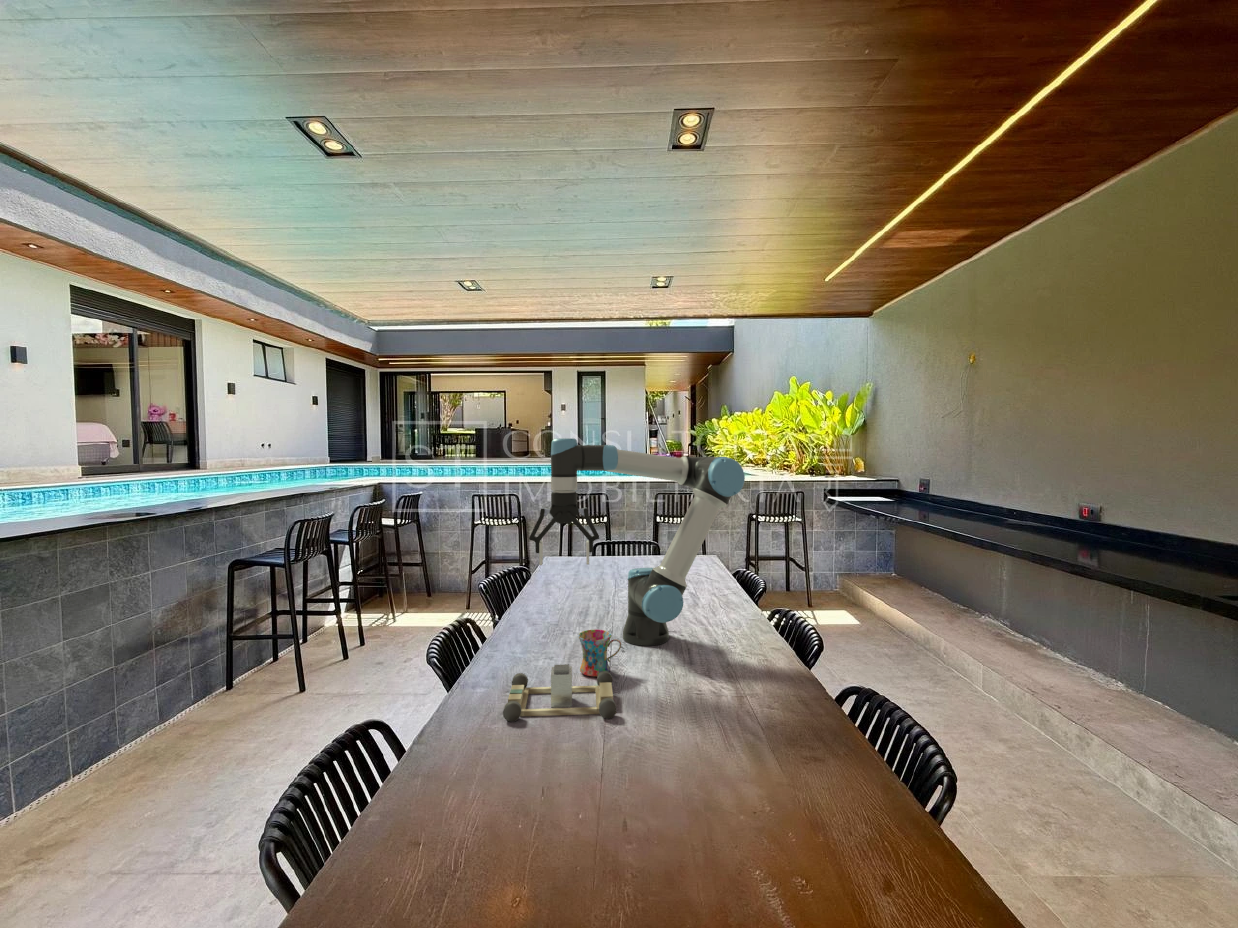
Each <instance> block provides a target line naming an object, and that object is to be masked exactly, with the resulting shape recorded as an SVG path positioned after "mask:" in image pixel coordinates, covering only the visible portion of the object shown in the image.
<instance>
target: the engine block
mask: <svg viewBox="0 0 1238 928" xmlns="http://www.w3.org/2000/svg"><path fill="white" fill-rule="evenodd" d="M572 680H573V666H570V664H568V663H567V664H554V665H553V666H551V671H550V687H551V693H550V708H573V693H572V686H573V681H572Z"/></svg>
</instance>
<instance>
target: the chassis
mask: <svg viewBox="0 0 1238 928" xmlns="http://www.w3.org/2000/svg"><path fill="white" fill-rule="evenodd" d="M596 677H597V678H596V681H597V682H596V683H597V685H580V686H579V685H576V686H575V685H572V694H573V693H574V694H575V693H595V706H591V707H590V706H589V707H587V706H585V707H558V708H551V707H550V708H526V707H527V704H528V699H529V695H530V694H532V695H533V694H534V695H536V694H537V695H538V694H551V686H536V687H535V686H534V687H532V686H531V687H528V683H529V679H528V676H527V675H526V674H525V673H521V672H517V673H516V674H514V676H513V677H512V680H511V688H510V691H509V695H508V698H507V702H506V703H505V705H504V708H503V711H502V717H503V718H504V720H505V721H507V722H510V723H515V722H516V721H518V719H520V717H542V716H543V717H544V716H574V715H575V716H576V715H577V716H578V715H600V717H602V718H603V719H605V720H606V719H607V720H608V719H612V718H614V717H615V715H616V713H617V705H616V702H615V700H614V694H613V683H614V682H613V675H612V674H611V672H610V671H609V672H608V671H602V672H600V673H599V674H598V676H596Z"/></svg>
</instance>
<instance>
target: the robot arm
mask: <svg viewBox="0 0 1238 928" xmlns="http://www.w3.org/2000/svg"><path fill="white" fill-rule="evenodd" d="M550 446H551V448H550V449H551V450H550V471H551V472H550V486H551V487H550V489H551V491H552V492H551V493H550V496H551V497H550V498H551V499H550V502H551V503H550V506H551V507H550V508H546V507H541V508H540V510H539V517H538V519H537V521H536V523H535V525H534V527H533V529H532V531H531V533H530V535H529V537H528V539H529V541H532V542H534V543H535V545H534V546H535V554H538V555H539V561H538V563H539V564H538V565H539V566H543V560H544V559H543V557H544V556H543V555H544V554H543V549H544V546H543V544H544V543H543V540H542V539H543V537H544V536H545V535H546V534H547V533H548V532H549V531H550V530H551V528H552V527H553V526H554V525H555V524H556V523H557V524H558V525H561V524H567V525H568V524H571V523H573V525H575V526H576V528H578V530H579V531H580V532H581V533H582V535H584V537H585V538H586V539H587V540H586V550H585V551H586V565H590V553H593V552H594V541H596V540H599V539H600V535H599V533H598V531H597V528H596V527H595V525H594V522H593V521H592V520H591V517H590V515H589V509H588V507H584V508H583V507H582V508H578V492H577V490H578V471H579V472H580V471H581V472H582V471H585V472H586V471H588V472H589V471H600V472H610V473H615V474H621V475H622V474H623V475H631V476H638V477H644V478H651V479H652V478H653V479H658V480H665V481H673V482H677V484H678V485H680V486H684V487H686V486H687V487H690V488H692V492H693V496H694V497H693V499H692V500H691V503H690V505H689V506H688V509H687V511H686V512H685V515H684V516H683V519H682V521H681V522H680V524H679V527H678V529H677V530H676V532H675V535H674V536H673V539H672V540H671V543H670V544H669V547H668V549H667V551H666V552H665V555H664V557H663V559H662V561H661V562H660V565H658V566H655V567H640V568H639V567H637V568H631V569H629V571H628V573H627V617H626V619H625V624H624V626H623V630H622V639H623V641H624V642H626V643H628V644H632V645H635V646H644V647H645V646H649V647H650V646H659V645H662V644H664V643H667V642H668V641H669V637H670V635H669V634H670V631H669V628H668V625H667V623H669V622H672V621H674V620H675V619H677V617H678V616H679V615H680V614H681V612H682V611H683V608H684V597H683V595H684V593H685V592H686V589H687V587H688V585H687V582H686V577H687V575H688V574H689V572H690V569H691V567H692V566H693V564H694V561H695V559H696V557H697V555H698V554H699V551H700V549H701V547H702V545H703V543H704V541H705V539H706V537H707V535H708V533H709V531H710V529H711V528H712V525H713V523H714V521H715V519H716V517H717V515H718V513H719V511H720V510H721V509H722V508H725V507H727V506H728V504H729V502H730V500H731V498H732V497H734V496H735V495H738V494H739V493H740V492H741V491H742V489H743V487H744V486H745V480H746V477H745V472H744V469H743V466H741V464H740V463H739V462H738V461H737V460H735V459H733V458H731V457H727V456H699V457H698V456H687V455H684V456H682V457H680V458H678V457H673V456H672V457H671V456H666V455H657V454H652V453H646V452H640V451H639V452H638V451H631V450H624V449H619V448H617V447H616V446H615V445H609V444H586V445H582V444H581V445H580V444H578V440H577V438H566V437H565V438H562V437H561V438H554V439H553V440H552V441H551V445H550ZM579 513H580V515H581V516H583V517H584V518H585V521H586V523H587V524H588V526H589V529H590V530H591V532H592V535H591V533H590V532H589V531H588V530H587V529H586V528H585V526H584V525H582V523H581V522H580V521H579V519H577V516H578V515H579ZM549 514H550V516H551V517H552V518H551V520H550V521H549V522H548V523H547V525H546V526H545V527H544V528H543V529H542V530H541V532H540V533H539V534H538V535H537V536H536V533H537V532H538V530H539V529H540V526H541V524H542V523H543V520H544V517H546V516H548V515H549Z"/></svg>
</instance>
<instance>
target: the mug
mask: <svg viewBox="0 0 1238 928" xmlns="http://www.w3.org/2000/svg"><path fill="white" fill-rule="evenodd" d="M577 637H578V640H579V642H580V645H581V649H582V660H581V664H580V667H579V672H580V673H581V674H583V675H584V676H588V677H597V676H598V674H599V673H600V672H602V671H608V672H609V673H610V671H611V668H610V666H609V665H610V664H609V663H611V660H610V659H612V658H614V657H615V656H616V655H617V654H618V653H619V652H620V650H621V649H622V648H621V646H622V642H621V640H619V639H616V638H613V639H612V633H611V632H609V631H608V630H605V629H587V630H583V631H581V632H579V634H577ZM613 642H618V643H619V647H618V649H617V650H616V651H615V653H613V654H611V655H610V656H608V648H609V647H610V645H611V644H612V643H613Z"/></svg>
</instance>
